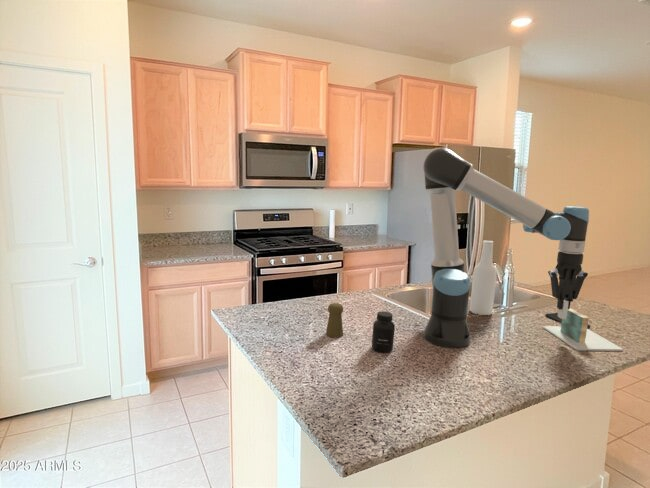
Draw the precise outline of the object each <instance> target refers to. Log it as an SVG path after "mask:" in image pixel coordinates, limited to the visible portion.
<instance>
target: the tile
mask: <svg viewBox="0 0 650 488" xmlns="http://www.w3.org/2000/svg"><path fill="white" fill-rule="evenodd" d="M589 319H590V318H589V317H588V316H586V315H584V314H582V313H581V312H578V311H577V310H575V309H573V308H571V307H570V309H568V311H567V318H566V319H562V323H560V324H561V325H560V326H561V332H562V333H564V334H565V335H567V336H568V337H570V338H572V339H573V340H575V341H576V342H578V343H585V339H586V332H587V329H588V328H587V326H588V325H589Z"/></svg>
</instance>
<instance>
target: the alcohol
mask: <svg viewBox="0 0 650 488" xmlns="http://www.w3.org/2000/svg"><path fill="white" fill-rule="evenodd" d="M493 249H494V241H493V240H485V239H484V240H483V241H482V248H481V254H480V259H479V262H478V263H477V264H476V265H475V266H474V268H473V273H472V274H473V275H472V285H471V292H470V293H471V294H470V295H471V296H470V304H469V309H470V310H469V311H470V312H471V313H472V314H474V315H477V314H478V315H477V316H482V315H488V316H491V314H492V313H493V310H494V301H495V294H496V293H495V291H496V282H497V274H498V272H497V268H496V266H495V265H494V263H493V255H494V253H493V252H494V251H493Z"/></svg>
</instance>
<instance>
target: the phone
mask: <svg viewBox="0 0 650 488" xmlns="http://www.w3.org/2000/svg"><path fill="white" fill-rule="evenodd" d="M544 316H545V318H548V319H550V320H553V321H555V322H558V323H560V324H562V319H561V318H559V317H558V312H555V313H554V312H553V313H552V312H551V313H545V315H544ZM590 328H591V325H590V324H588V326H587V329H590Z"/></svg>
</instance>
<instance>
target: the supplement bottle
mask: <svg viewBox="0 0 650 488" xmlns="http://www.w3.org/2000/svg"><path fill="white" fill-rule="evenodd" d="M395 329H396V325H395V322H393V313H391V312H389V311H385V310H383V311H378V312H377V313H376V320H374V321H373V324H372V335H371V337H372V338H371V349H372V350H373V351H374V352H375V353H379V354H390V353H392V352H393V350H394V342H395V339H394V338H395Z"/></svg>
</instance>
